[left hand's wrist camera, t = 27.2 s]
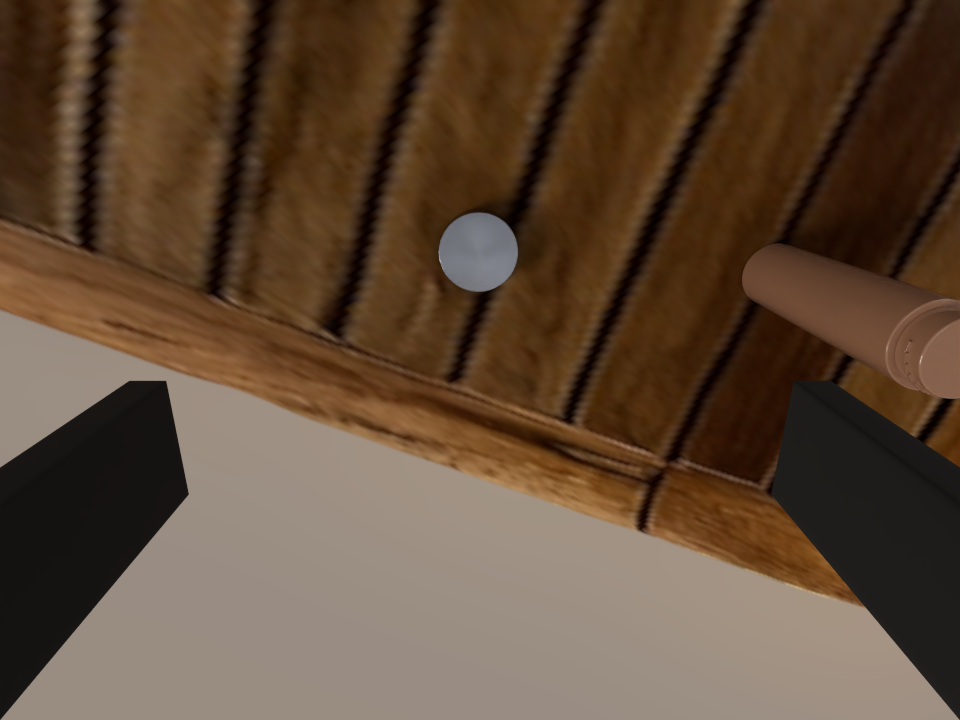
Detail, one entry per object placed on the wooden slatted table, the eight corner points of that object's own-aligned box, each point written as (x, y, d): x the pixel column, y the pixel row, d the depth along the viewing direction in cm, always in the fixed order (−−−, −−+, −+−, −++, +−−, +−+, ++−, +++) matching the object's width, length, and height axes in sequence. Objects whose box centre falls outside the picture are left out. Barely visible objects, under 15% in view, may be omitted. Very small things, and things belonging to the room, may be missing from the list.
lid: (526, 223, 38) (529, 227, 36) (502, 295, 39) (503, 301, 37) (453, 198, 37) (452, 201, 35) (431, 272, 39) (429, 278, 37)
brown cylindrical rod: (741, 308, 39) (906, 411, 24) (742, 247, 38) (918, 316, 23) (803, 300, 39) (1009, 399, 24) (806, 239, 38) (1028, 302, 23)
